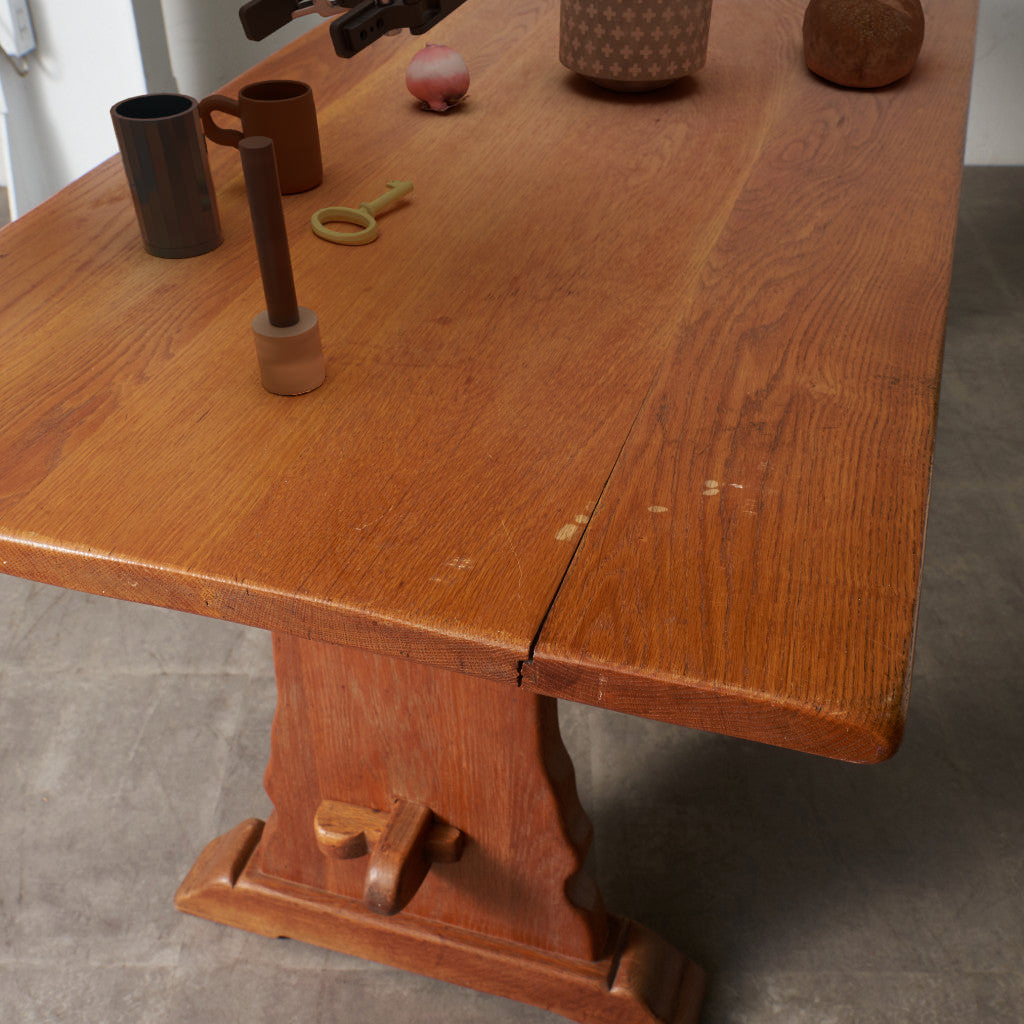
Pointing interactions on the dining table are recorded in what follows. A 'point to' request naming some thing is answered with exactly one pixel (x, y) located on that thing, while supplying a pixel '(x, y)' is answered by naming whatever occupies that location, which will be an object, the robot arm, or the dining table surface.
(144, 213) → the cup
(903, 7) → the bread
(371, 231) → the key
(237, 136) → the mug
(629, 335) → the dining table surface
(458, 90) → the onion
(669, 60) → the planter
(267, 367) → the brush
